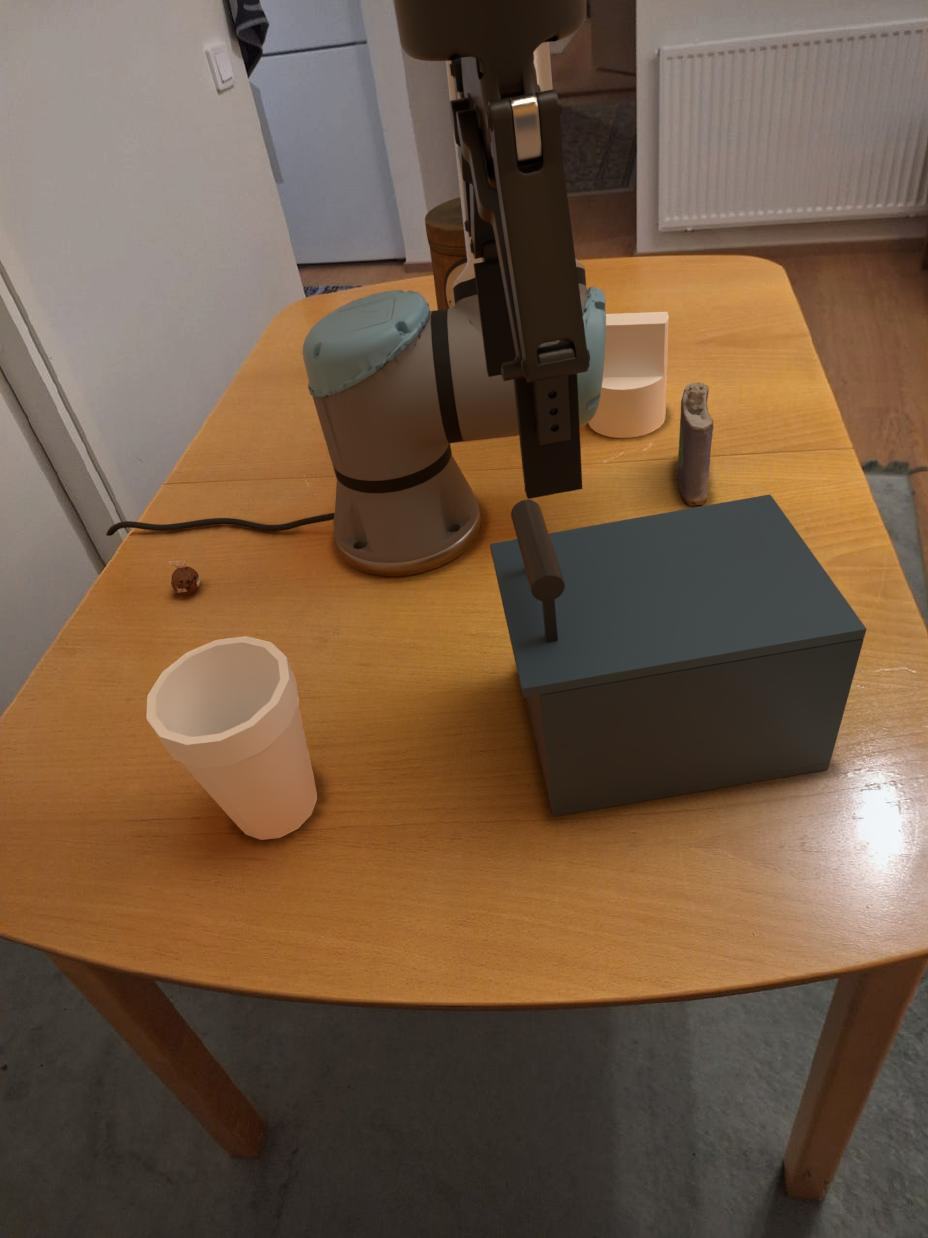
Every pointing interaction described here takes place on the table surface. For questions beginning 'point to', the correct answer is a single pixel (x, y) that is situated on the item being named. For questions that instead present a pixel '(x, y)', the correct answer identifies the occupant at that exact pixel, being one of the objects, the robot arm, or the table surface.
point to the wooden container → (446, 248)
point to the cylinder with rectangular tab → (633, 375)
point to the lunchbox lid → (662, 594)
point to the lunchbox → (693, 728)
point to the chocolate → (184, 579)
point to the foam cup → (238, 732)
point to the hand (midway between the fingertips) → (529, 424)
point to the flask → (694, 444)
